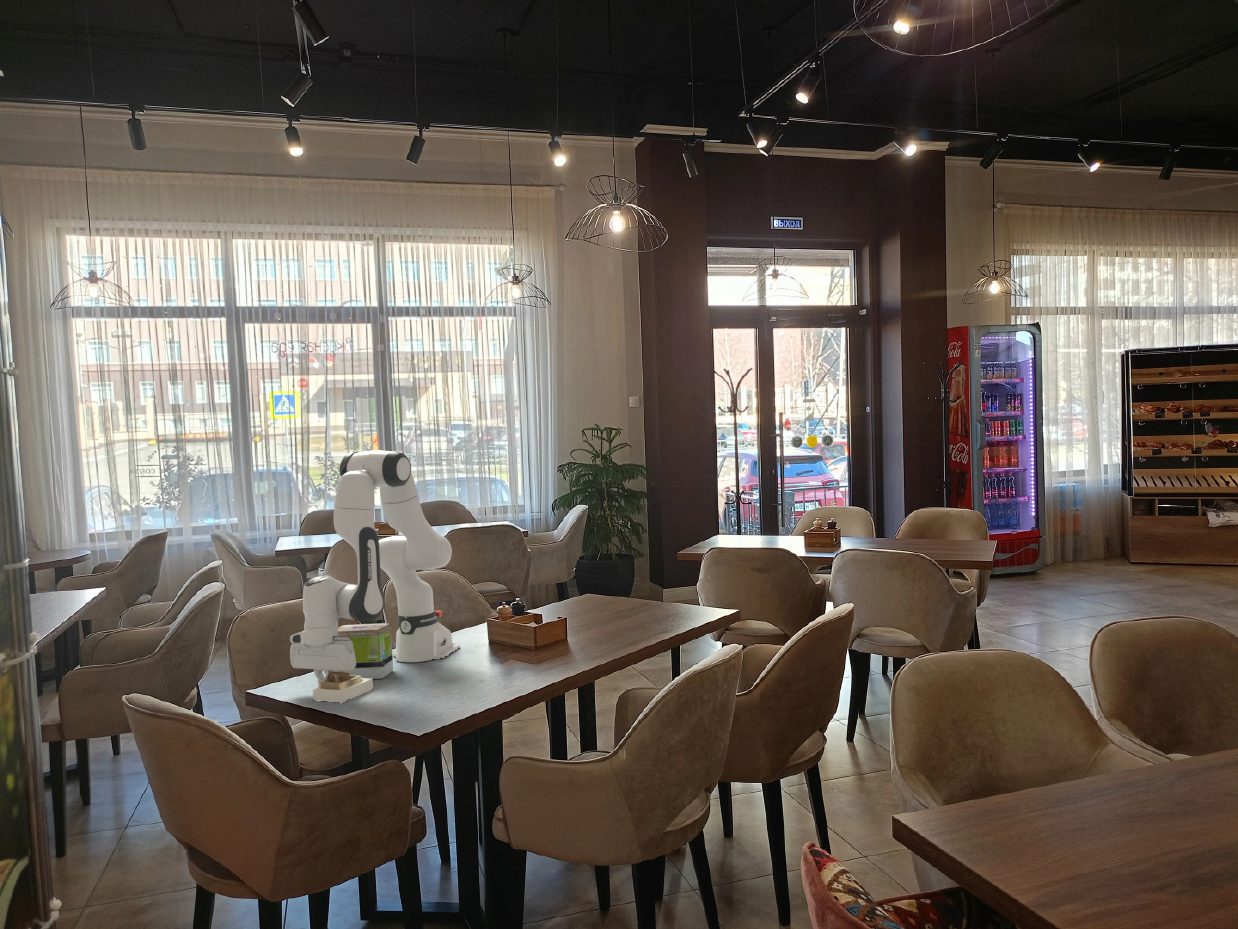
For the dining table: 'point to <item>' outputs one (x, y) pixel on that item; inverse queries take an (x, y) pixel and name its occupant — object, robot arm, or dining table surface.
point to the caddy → (339, 681)
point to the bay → (343, 691)
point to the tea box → (370, 649)
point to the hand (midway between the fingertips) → (324, 685)
